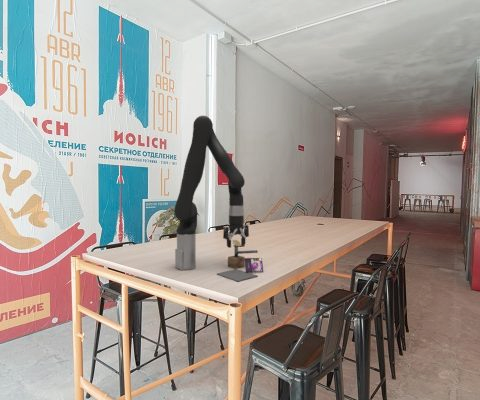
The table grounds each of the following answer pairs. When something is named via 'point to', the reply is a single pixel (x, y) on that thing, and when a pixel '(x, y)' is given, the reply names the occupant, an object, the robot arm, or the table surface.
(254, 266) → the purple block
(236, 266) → the block
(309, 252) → the table surface
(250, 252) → the t key
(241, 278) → the rubber mat
